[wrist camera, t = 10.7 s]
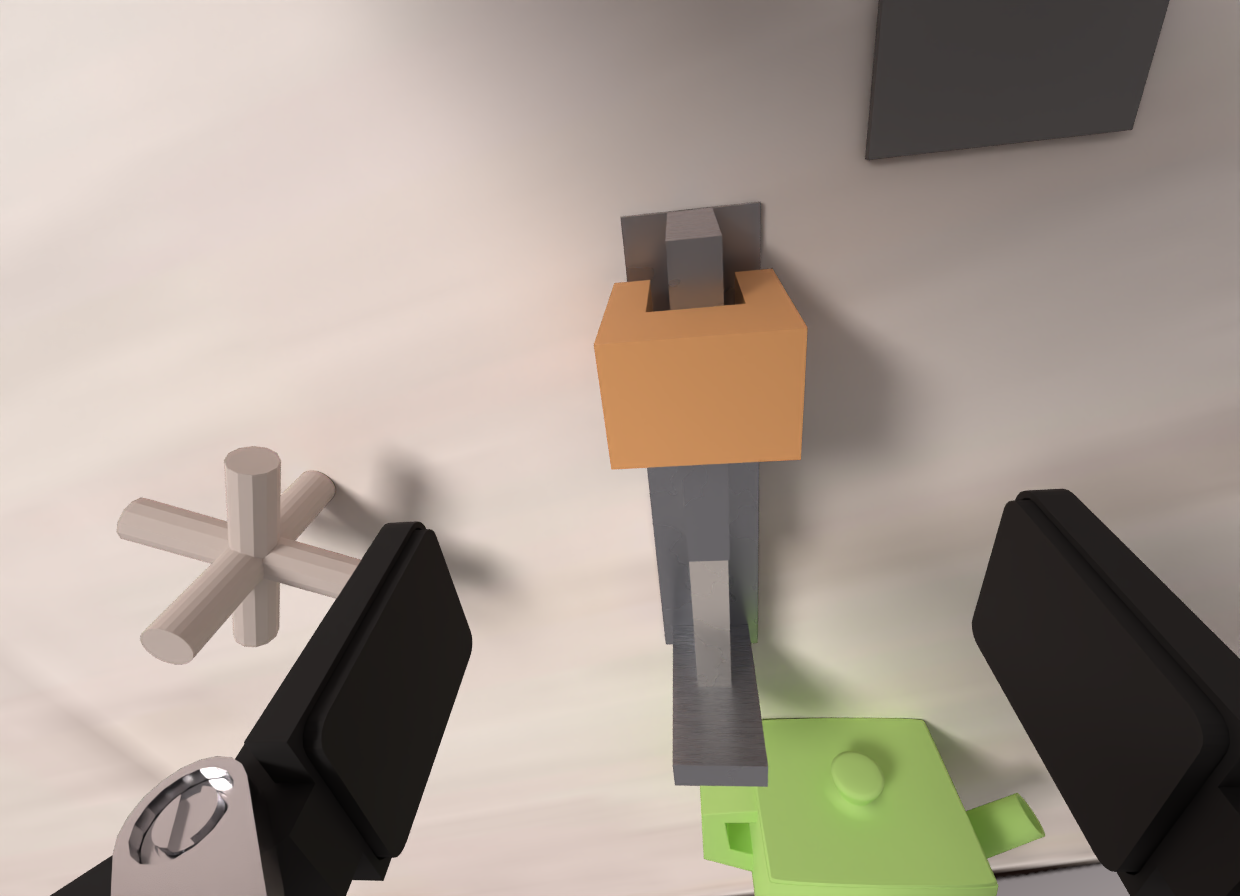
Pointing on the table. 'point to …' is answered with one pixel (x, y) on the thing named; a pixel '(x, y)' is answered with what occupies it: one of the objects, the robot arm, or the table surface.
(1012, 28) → the pad
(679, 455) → the clip
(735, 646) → the rail
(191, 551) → the pipe connector
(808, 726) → the green square teapot
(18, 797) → the table surface
